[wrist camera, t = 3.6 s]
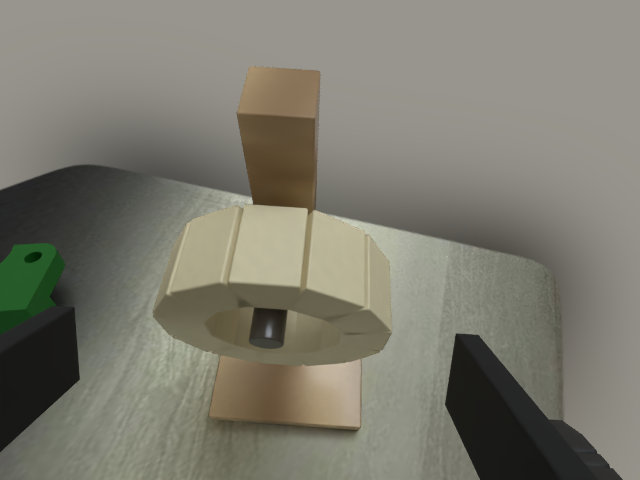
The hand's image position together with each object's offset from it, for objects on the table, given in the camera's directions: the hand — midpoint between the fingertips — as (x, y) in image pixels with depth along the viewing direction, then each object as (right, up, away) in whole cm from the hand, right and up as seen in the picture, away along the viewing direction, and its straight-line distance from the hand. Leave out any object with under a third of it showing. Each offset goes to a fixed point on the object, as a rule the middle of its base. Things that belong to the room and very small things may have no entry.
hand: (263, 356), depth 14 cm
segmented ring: (0, -1, +7) cm, 7 cm away
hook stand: (0, -4, +16) cm, 16 cm away
